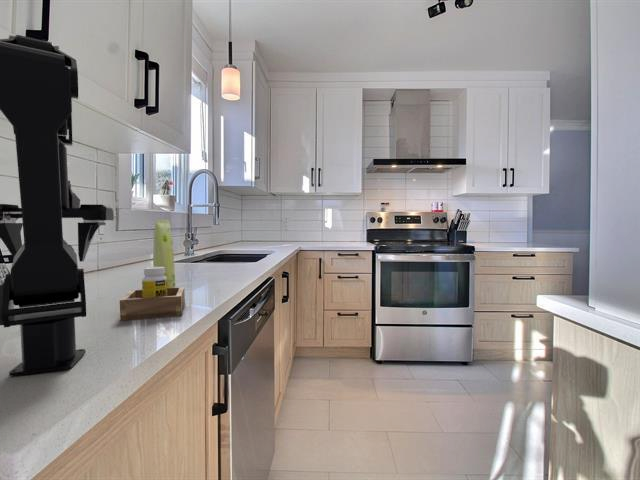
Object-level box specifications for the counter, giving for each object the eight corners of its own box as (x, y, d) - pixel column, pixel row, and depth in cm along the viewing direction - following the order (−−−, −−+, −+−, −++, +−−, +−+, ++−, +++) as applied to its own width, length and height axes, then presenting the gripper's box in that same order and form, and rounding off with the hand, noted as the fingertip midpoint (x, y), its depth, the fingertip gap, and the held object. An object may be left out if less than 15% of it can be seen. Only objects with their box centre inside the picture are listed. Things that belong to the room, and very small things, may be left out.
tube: (180, 301, 84) (178, 219, 83) (158, 305, 80) (155, 219, 79) (171, 297, 88) (168, 219, 87) (149, 301, 84) (147, 219, 83)
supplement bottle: (157, 310, 71) (156, 269, 71) (137, 309, 72) (136, 268, 72) (172, 305, 76) (171, 266, 75) (153, 304, 77) (152, 266, 76)
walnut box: (181, 315, 71) (181, 296, 71) (120, 320, 68) (119, 300, 67) (184, 303, 81) (184, 286, 81) (132, 307, 78) (131, 289, 78)
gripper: (119, 179, 71) (122, 256, 72) (7, 177, 66) (11, 259, 67) (103, 172, 61) (106, 262, 62) (-32, 168, 55) (-26, 266, 56)
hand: (51, 262), depth 62 cm, fingers open, 9 cm apart
